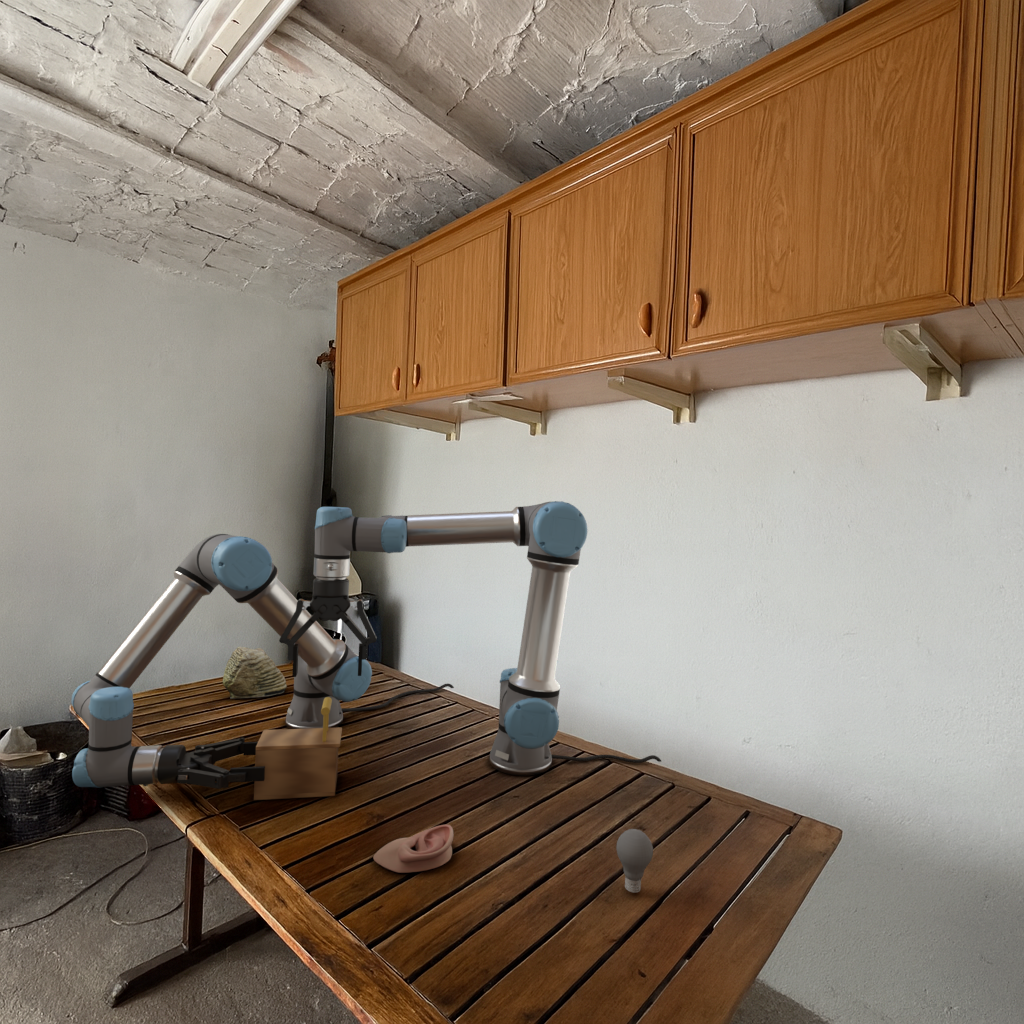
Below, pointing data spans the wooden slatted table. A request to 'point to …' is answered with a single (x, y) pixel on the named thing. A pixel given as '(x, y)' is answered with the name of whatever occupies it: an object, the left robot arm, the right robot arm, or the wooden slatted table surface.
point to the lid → (302, 735)
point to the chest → (297, 773)
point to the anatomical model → (417, 851)
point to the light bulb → (634, 857)
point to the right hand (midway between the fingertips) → (327, 674)
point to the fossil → (252, 674)
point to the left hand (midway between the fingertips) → (270, 759)
